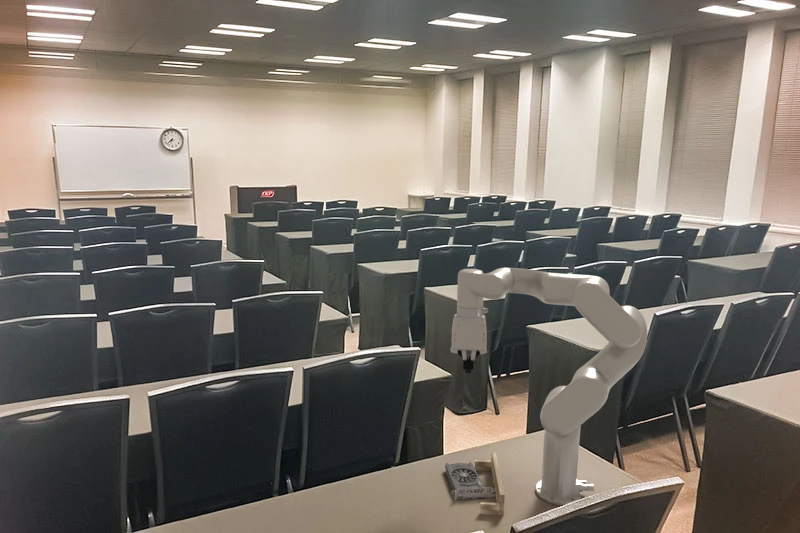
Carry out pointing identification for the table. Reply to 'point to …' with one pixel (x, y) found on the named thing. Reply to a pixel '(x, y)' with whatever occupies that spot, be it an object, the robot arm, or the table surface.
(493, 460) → the birch bracket
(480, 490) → the graphics card
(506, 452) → the table surface
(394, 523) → the table surface
